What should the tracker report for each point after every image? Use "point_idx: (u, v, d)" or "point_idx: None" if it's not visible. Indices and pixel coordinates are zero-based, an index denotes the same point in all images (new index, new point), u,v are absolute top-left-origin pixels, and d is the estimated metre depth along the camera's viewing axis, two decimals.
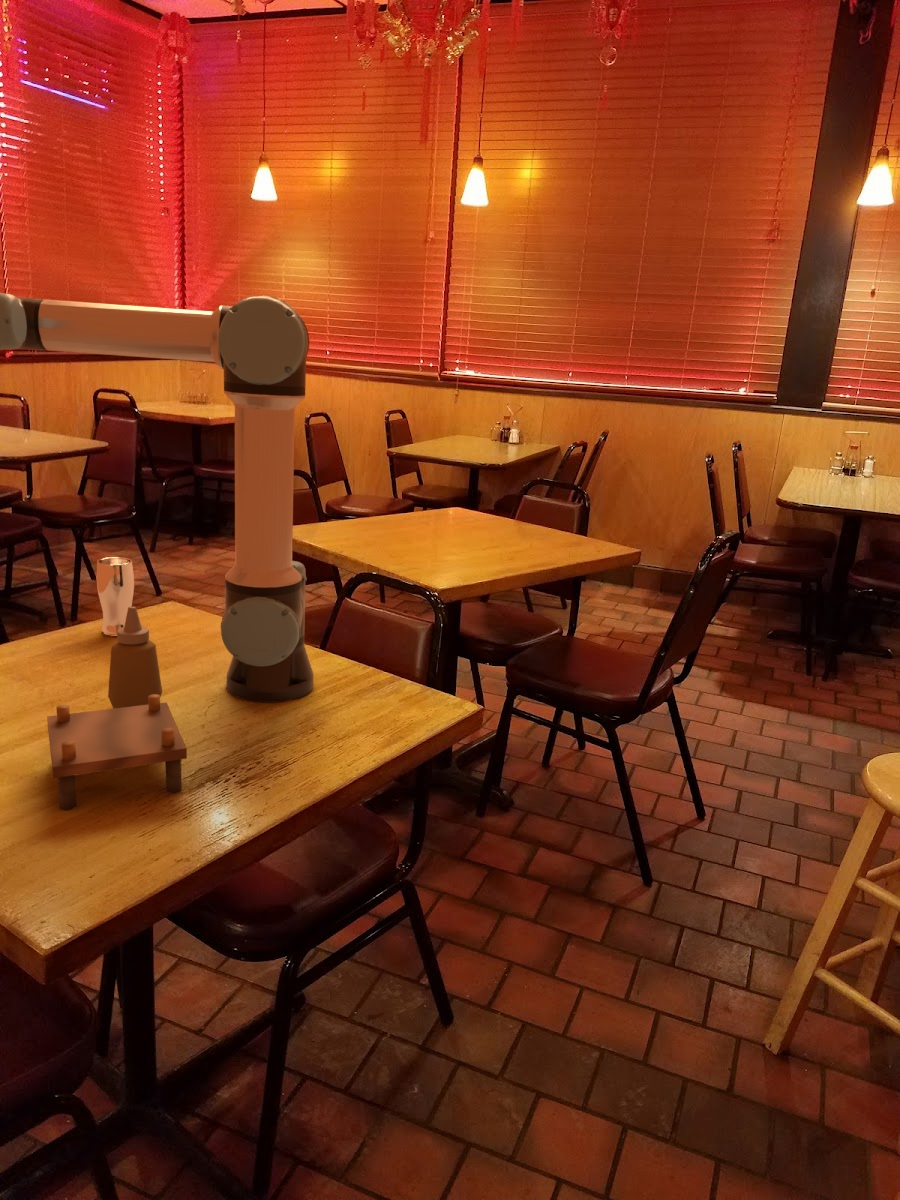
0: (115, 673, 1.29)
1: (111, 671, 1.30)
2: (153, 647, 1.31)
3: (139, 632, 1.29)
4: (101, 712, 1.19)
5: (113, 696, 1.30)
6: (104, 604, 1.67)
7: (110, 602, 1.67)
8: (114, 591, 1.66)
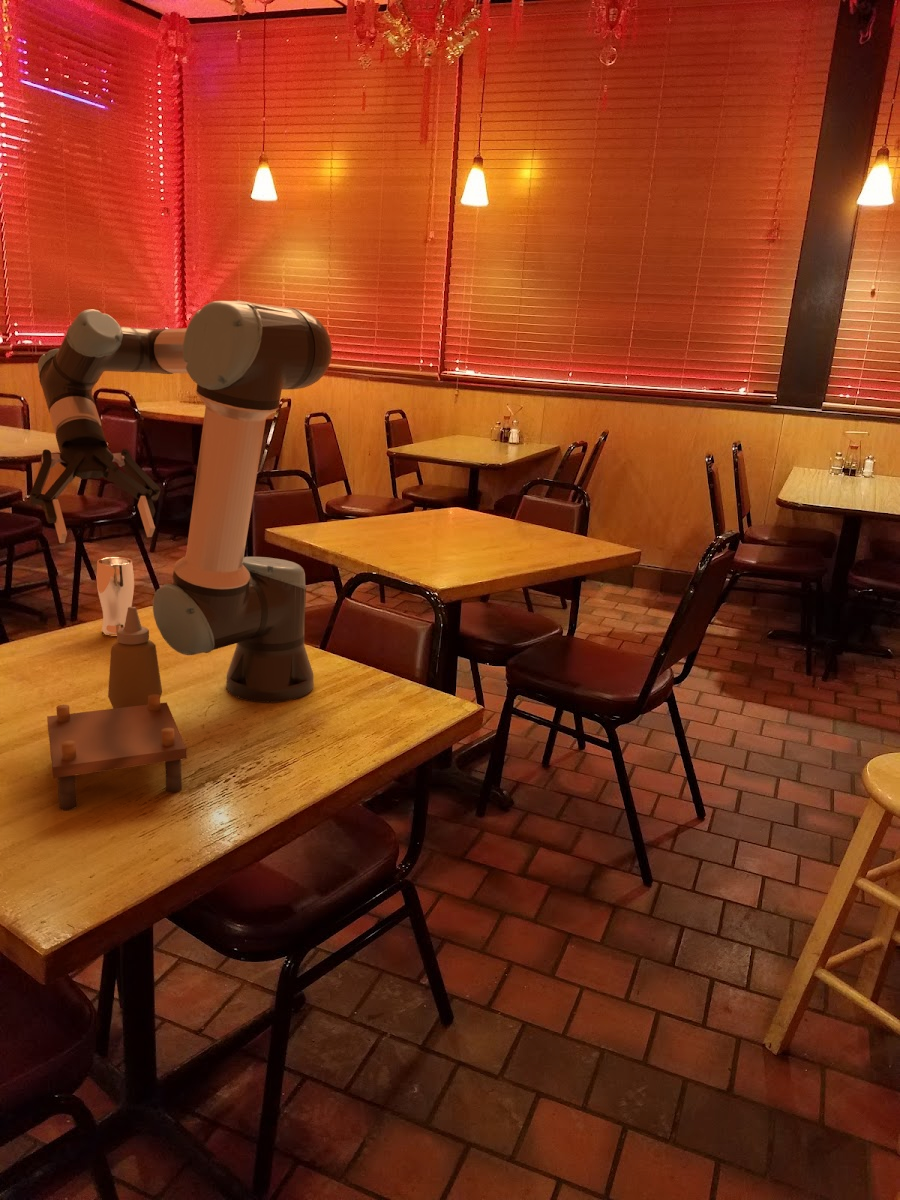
0: (115, 673, 1.29)
1: (111, 671, 1.30)
2: (153, 647, 1.31)
3: (139, 632, 1.29)
4: (101, 712, 1.19)
5: (113, 696, 1.30)
6: (104, 604, 1.67)
7: (110, 602, 1.67)
8: (114, 591, 1.66)
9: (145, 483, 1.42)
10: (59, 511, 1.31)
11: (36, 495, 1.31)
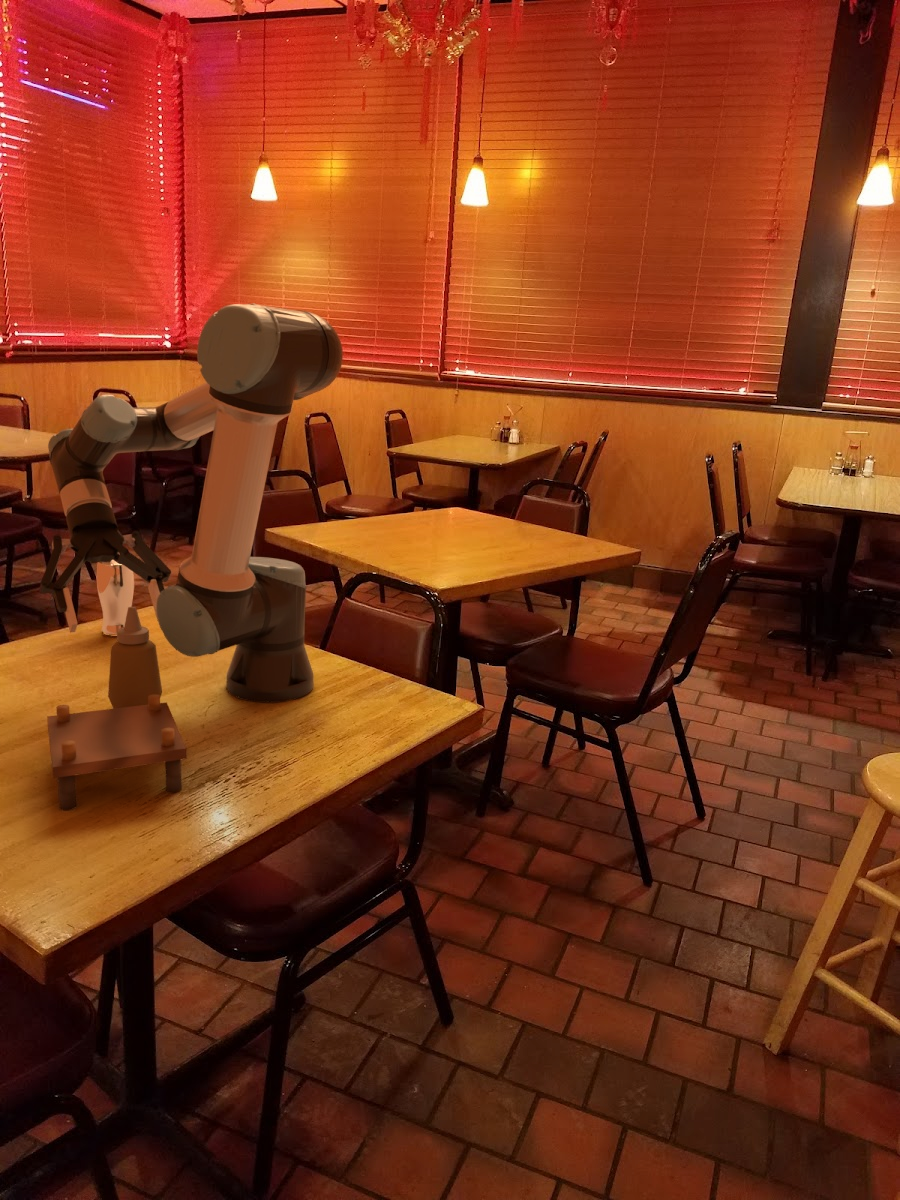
0: (115, 673, 1.29)
1: (111, 671, 1.30)
2: (153, 647, 1.31)
3: (139, 632, 1.29)
4: (101, 712, 1.19)
5: (113, 696, 1.30)
6: (104, 604, 1.67)
7: (110, 602, 1.67)
8: (114, 591, 1.66)
9: (156, 565, 1.41)
10: (69, 600, 1.30)
11: (46, 584, 1.30)
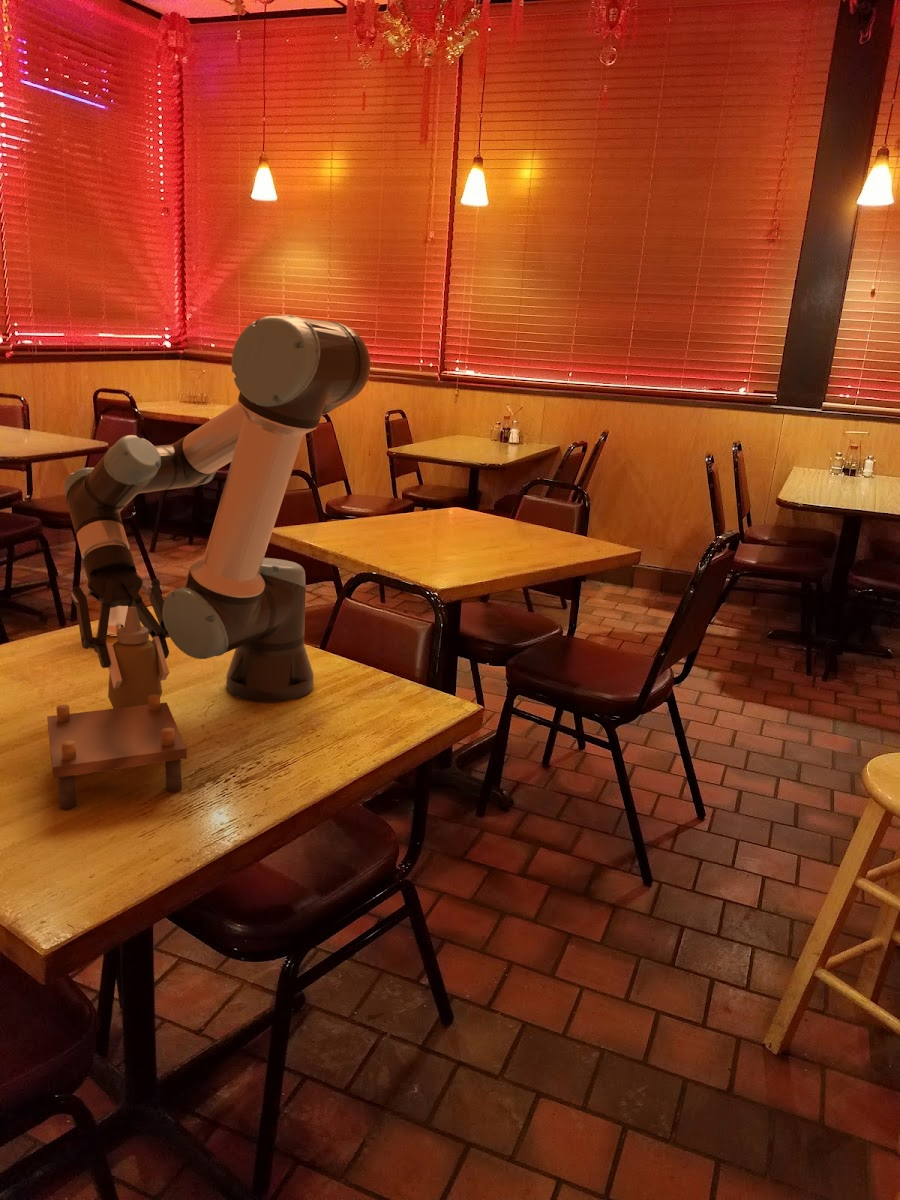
0: None
1: None
2: (153, 647, 1.31)
3: (139, 632, 1.29)
4: (101, 712, 1.19)
5: (113, 696, 1.30)
6: None
7: None
8: None
9: (162, 618, 1.35)
10: (113, 656, 1.28)
11: (91, 639, 1.27)
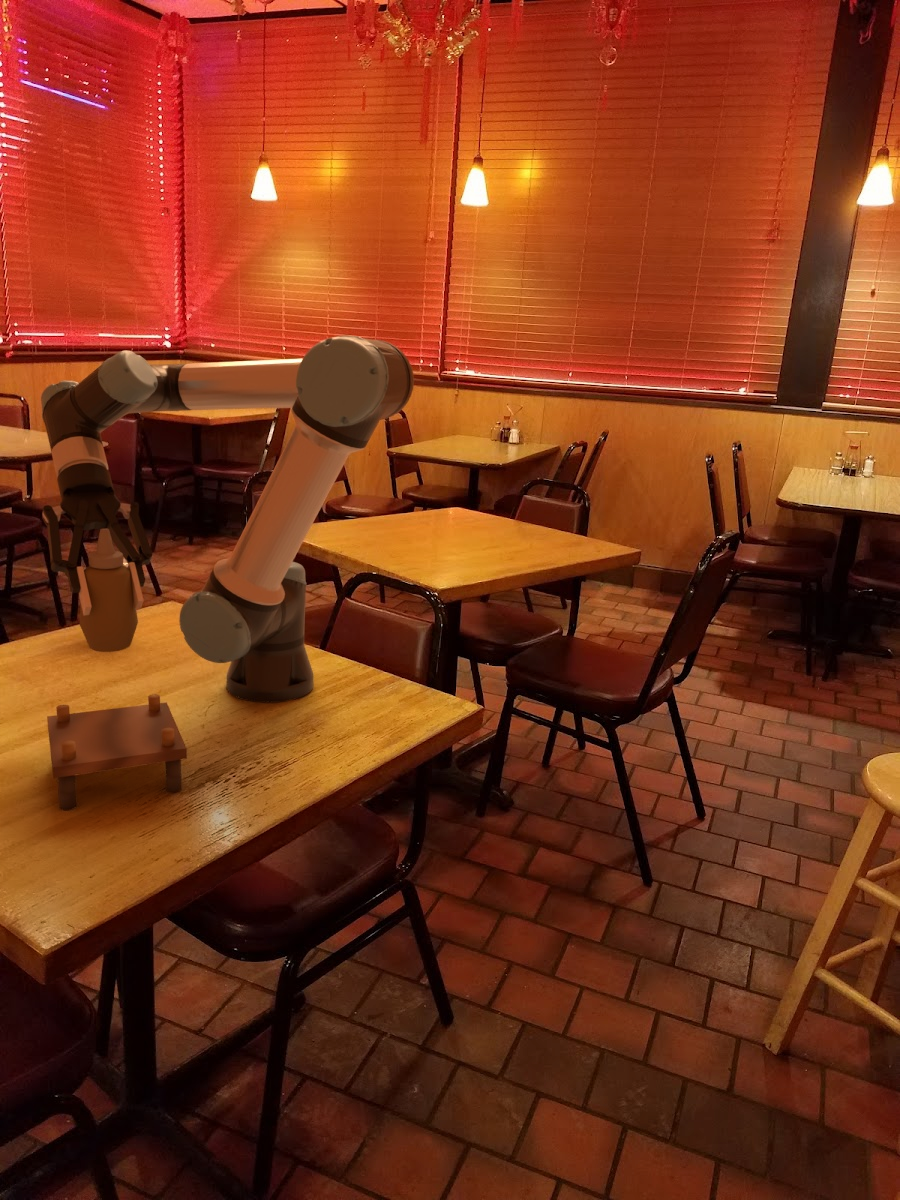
0: None
1: None
2: (127, 573, 1.22)
3: (112, 556, 1.20)
4: (101, 712, 1.19)
5: (84, 624, 1.21)
6: None
7: None
8: None
9: (139, 543, 1.26)
10: (83, 580, 1.19)
11: (60, 562, 1.19)
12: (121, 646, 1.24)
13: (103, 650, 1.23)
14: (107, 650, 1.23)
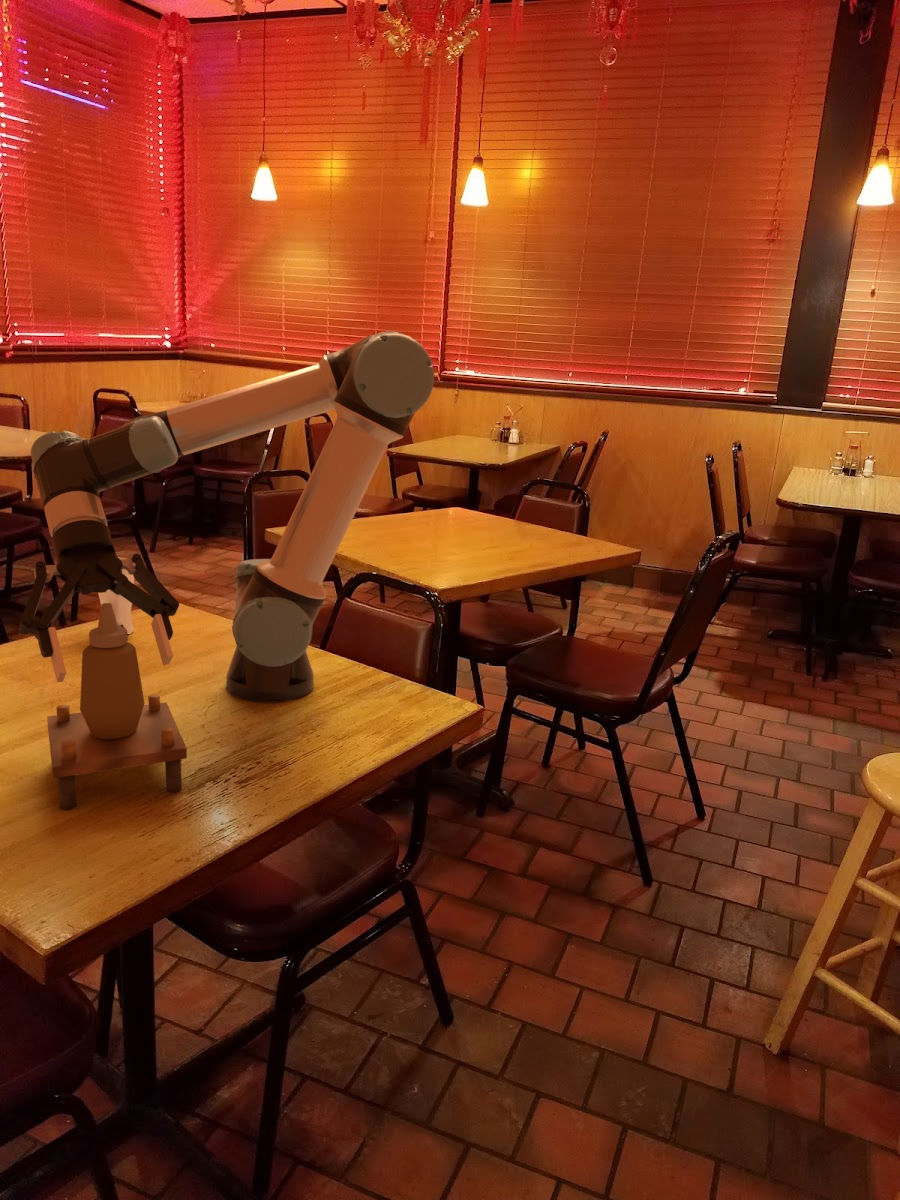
0: (87, 682, 1.08)
1: (83, 680, 1.09)
2: (132, 651, 1.10)
3: (115, 633, 1.09)
4: None
5: (86, 710, 1.09)
6: None
7: (110, 602, 1.67)
8: None
9: (161, 596, 1.16)
10: (56, 643, 1.06)
11: (28, 623, 1.05)
12: (127, 731, 1.12)
13: (108, 737, 1.11)
14: (112, 737, 1.11)
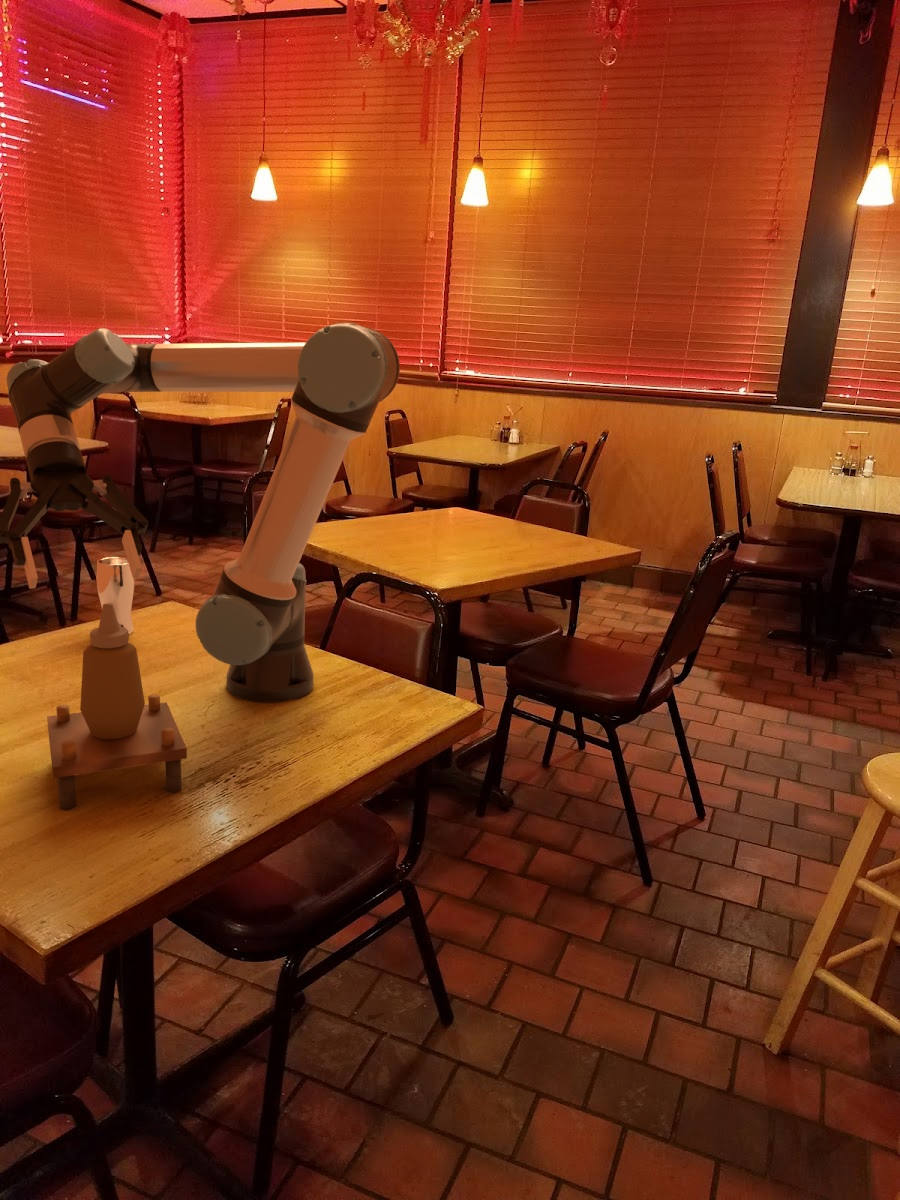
0: (88, 683, 1.08)
1: (83, 680, 1.09)
2: (133, 651, 1.10)
3: (116, 633, 1.09)
4: None
5: (86, 710, 1.09)
6: None
7: (110, 602, 1.67)
8: (114, 591, 1.66)
9: (130, 515, 1.23)
10: (29, 551, 1.12)
11: (1, 532, 1.12)
12: (127, 732, 1.12)
13: (108, 737, 1.11)
14: (112, 737, 1.11)
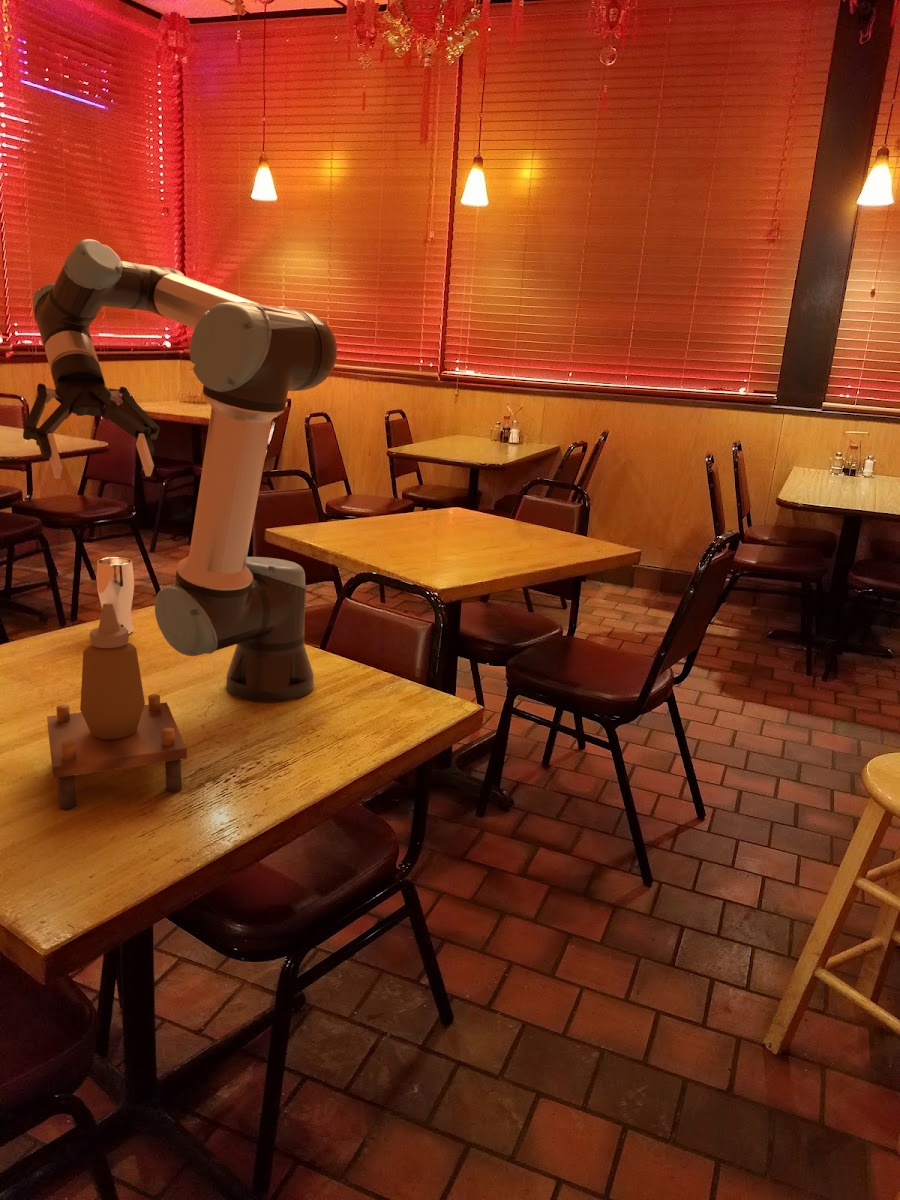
0: (88, 683, 1.08)
1: (83, 680, 1.09)
2: (133, 651, 1.10)
3: (116, 633, 1.09)
4: None
5: (86, 710, 1.09)
6: None
7: (110, 602, 1.67)
8: (114, 591, 1.66)
9: (144, 421, 1.37)
10: (54, 445, 1.26)
11: (30, 428, 1.26)
12: (127, 732, 1.12)
13: (108, 737, 1.11)
14: (112, 737, 1.11)
